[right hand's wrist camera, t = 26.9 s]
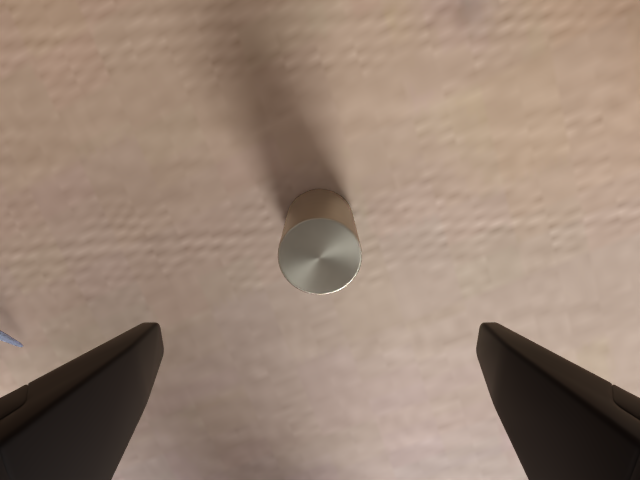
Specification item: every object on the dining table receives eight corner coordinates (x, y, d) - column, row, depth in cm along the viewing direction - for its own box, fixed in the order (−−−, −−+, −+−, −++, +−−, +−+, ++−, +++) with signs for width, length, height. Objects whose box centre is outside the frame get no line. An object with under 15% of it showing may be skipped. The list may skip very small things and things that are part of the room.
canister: (306, 176, 20) (302, 202, 16) (365, 208, 21) (378, 242, 16) (275, 233, 21) (263, 273, 17) (332, 262, 22) (336, 308, 17)
